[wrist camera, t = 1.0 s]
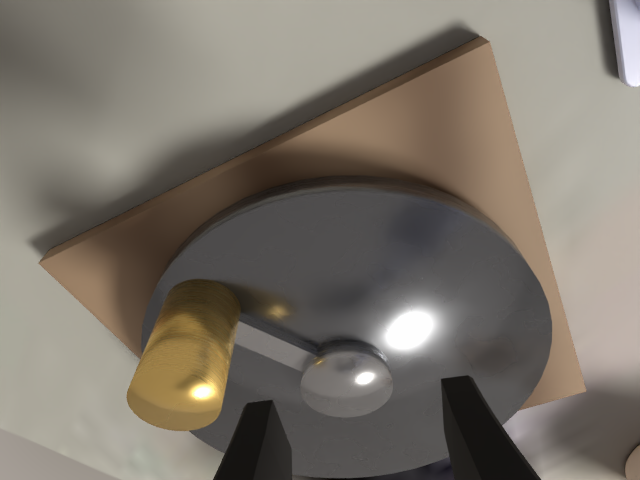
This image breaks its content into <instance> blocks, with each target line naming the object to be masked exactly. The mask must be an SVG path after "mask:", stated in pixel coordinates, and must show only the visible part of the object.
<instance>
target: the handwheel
mask: <svg viewBox="0 0 640 480" xmlns="http://www.w3.org/2000/svg"><path fill="white" fill-rule="evenodd" d="M551 344H552V319H551V313H550V308H549V303H548V300H547V298H546V296H545V293H544V291H543V288H542V286H541V284H540V282H539V280H538V279H537V277H536V276H535V274H534V272H533V271H532V269H531V268H530V266H529V264H528V263H527V261H526V260H525V258H524V257H523V255H522V254H521V252H520V251H519V249H518V248H517V246H516V245H515V243H514V242H513V241H512V240H511V238H510V237H509V236H508V235H507V234H506V233H505V232H504V231H503V230H502V229H501V228H500V227H499V226H498V225H497V224H496V223H495V222H493V221H492V220H491V219H489V218H488V217H487V216H485V215H484V214H483V213H481V212H480V211H479V210H477V209H476V208H474V207H472V206H470V205H468V204H467V203H465V202H463V201H461V200H459V199H457V198H456V197H454V196H452V195H449V194H446V193H444V192H441V191H438V190H436V189H433V188H430V187H428V186H425V185H420V184H416V183H412V182H408V181H404V180H399V179H394V178H385V177H376V176H367V175H342V176H326V177H318V178H310V179H303V180H298V181H294V182H290V183H286V184H282V185H278V186H274V187H271V188H268V189H266V190H263V191H260V192H258V193H255V194H253V195H250V196H248V197H245V198H243V199H241V200H239V201H237V202H236V203H234V204H232V205H230V206H228V207H226V208H225V209H223V210H221V211H219V212H218V213H216V214H215V215H214V216H212V217H211V218H210V219H208V220H207V221H206V222H204V223H203V224H202V225H200V226H199V227H198V228H197V229H196V230H195V231H194V232H193V233H192V234H191V235H190V236H189V237H188V238H187V239H186V240H185V241H184V242H183V243H182V244H181V245H180V246H179V247H178V249H177V250H176V252H175V253H174V254H173V256H172V257H171V259H170V260H169V262H168V263H167V265H166V267H165V269H164V271H163V273H162V275H161V277H160V279H159V282H158V284H157V286H156V288H155V290H154V293H153V295H152V297H151V299H150V301H149V304H148V306H147V309H146V313H145V317H144V321H143V324H142V336H141V350H142V357H141V360H140V362H139V364H138V367H137V369H136V372H135V374H134V377H133V379H132V381H131V384H130V386H129V389H128V392H127V402H128V405H129V407H130V408H131V410H132V411H133V412H134V413H135V414H136V415H137V416H138V417H139V418H141V419H142V420H144V421H145V422H147V423H149V424H151V425H154V426H156V427H159V428H163V429H167V430H174V431H190V432H191V433H192V434H193V435H195V436H196V437H197V438H199V439H200V440H202V441H204V442H205V443H207V444H208V445H210V446H212V447H213V448H215V449H217V450H219V451H221V452H223V453H225V452H226V450H227V448H228V446H229V443H230V441H231V439H232V436H233V434H234V431H235V429H236V426H237V424H238V421H239V419H240V416H241V414H242V411H243V409H244V406H245V405H246V404H247V403H250V402H258V401H266V400H273V402H274V405H275V407H276V410H277V412H278V415H279V418H280V420H281V423H282V425H283V428H284V431H285V433H286V436H287V438H288V441H289V443H290V446H291V449H292V474H294V475H301V476H308V477H322V478H357V477H370V476H378V475H385V474H391V473H397V472H401V471H405V470H410V469H414V468H418V467H421V466H424V465H427V464H431V463H434V462H437V461H439V460H442V459H444V458H447V457H449V452H448V448H447V443H446V439H445V434H444V424H443V407H442V391H441V379H442V378H450V377H458V376H466V375H469V376H470V377H472V378H473V379H474V381H475V383H476V385H477V387H478V388H479V390H480V392H481V393H482V395H483V397H484V399H485V400H486V402H487V404H488V405H489V407H490V408H491V410H492V411H493V413H494V415H495V416H496V418H497V419H498V421H499V422H500V424H501V425H503V424H504V423H506V422H507V421H508V420H509V419H510V418H511V417H512V416H513V415H514V414H515V413H516V412H517V411H518V410H519V409H520V408H521V407H522V405H523V404H524V403H525V402H526V400H527V399H528V398H529V397H530V395H531V394H532V393H533V391H534V389H535V387H536V386H537V384H538V382H539V381H540V379H541V377H542V375H543V372H544V370H545V367H546V365H547V362H548V359H549V354H550V349H551Z"/></svg>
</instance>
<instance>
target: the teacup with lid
mask: <svg viewBox="0 0 640 480" xmlns="http://www.w3.org/2000/svg"><path fill="white" fill-rule="evenodd" d="M625 474H626V477H627V480H640V445H639V446H637V447H636V448H635V450H634V451H633V452H632V453H631V454H630V456H629V458H628V460H627V462H626V466H625Z"/></svg>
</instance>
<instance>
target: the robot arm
mask: <svg viewBox="0 0 640 480" xmlns="http://www.w3.org/2000/svg"><path fill="white" fill-rule="evenodd" d="M609 5H610V12H611V20H612V27H613V35H614V42H615V49H616V57H617V64H618V72H619V78H620V80H621V82H622V83H624V84H625V85H627V86H629V87H637V86H640V0H609ZM441 391H442V407H443V424H444V434H445V439H446V443H447V448H448V452H449V457H450V461H451V465H452V470H453V474H454V478H455V480H541V479H540V478H539V476H538V475H537V474H536V472H535V471H534V470H533V468H532V467H531V466H530V464H529V463H528V462H527V460H526V459H525V457H524V456H523V455H522V453H521V452H520V451H519V449H518V448H517V447H516V445H515V444H514V443H513V441H512V440H511V438H510V437H509V435H508V434H507V433H506V431H505V430H504V428H503V427H502V425H501V424H500V422H499V421H498V419H497V418H496V416H495V415H494V413H493V411H492V410H491V408H490V407H489V405H488V404H487V402H486V400H485V399H484V397H483V395H482V393H481V392H480V390H479V388H478V387H477V385H476V383H475V381H474V379H473V378H472V377H470V376H469V375H466V376H458V377H450V378H442V379H441ZM213 480H292V449H291V446H290V443H289V441H288V438H287V436H286V433H285V431H284V428H283V425H282V423H281V420H280V418H279V415H278V412H277V410H276V407H275V405H274V402H273V400H266V401H258V402H250V403H247V404H246V405H245V406H244V409H243V411H242V414H241V416H240V419H239V421H238V424H237V426H236V429H235V431H234V434H233V436H232V439H231V441H230V443H229V446H228V448H227V450H226V452H225V455H224V457H223V459H222V462H221V464H220V466H219V468H218V470H217V472H216V474H215V477H214V479H213Z"/></svg>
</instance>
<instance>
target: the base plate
mask: <svg viewBox="0 0 640 480" xmlns="http://www.w3.org/2000/svg"><path fill="white" fill-rule="evenodd" d="M342 175H367V176H376V177H385V178H394V179H399V180H404V181H408V182H412V183H416V184H420V185H425V186H428V187H430V188H433V189H436V190H438V191H441V192H444V193H446V194H449V195H452V196H454V197H456V198H457V199H459V200H461V201H463V202H465V203H467V204H468V205H470V206H472V207H474V208H476V209H477V210H479V211H480V212H481V213H483V214H484V215H485V216H487V217H488V218H489V219H491V220H492V221H493V222H495V223H496V224H497V225H498V226H499V227H500V228H501V229H502V230H503V231H504V232H505V233H506V234H507V235H508V236H509V237H510V238H511V240H512V241H513V242H514V243H515V245H516V246H517V248H518V249H519V251H520V252H521V254H522V255H523V257H524V258H525V260H526V261H527V263H528V264H529V266H530V268H531V269H532V271H533V272H534V274H535V276H536V277H537V279H538V280H539V282H540V284H541V286H542V288H543V291H544V293H545V296H546V298H547V300H548V303H549V308H550V313H551V319H552V344H551V349H550V354H549V359H548V362H547V365H546V367H545V370H544V372H543V375H542V377H541V379H540V381H539V382H538V384H537V386H536V387H535V389H534V391H533V393H532V394H531V395H530V397H529V398H528V399H527V400H526V402H525V403H524V404H523V405H522V407H521V408H520V409H519V410H522V409H526V408H529V407H533V406H536V405H540V404H544V403H547V402H551V401H554V400H558V399H561V398H565V397H568V396H572V395H575V394H579V393H583V392H586V388H585V384H584V381H583V377H582V373H581V370H580V366H579V363H578V359H577V355H576V352H575V348H574V344H573V341H572V337H571V334H570V330H569V326H568V323H567V319H566V316H565V312H564V308H563V305H562V301H561V297H560V294H559V290H558V287H557V283H556V279H555V276H554V272H553V269H552V265H551V261H550V258H549V254H548V250H547V247H546V243H545V240H544V236H543V232H542V229H541V225H540V222H539V218H538V214H537V211H536V207H535V203H534V200H533V196H532V193H531V189H530V185H529V182H528V178H527V175H526V171H525V167H524V164H523V160H522V156H521V153H520V149H519V146H518V142H517V138H516V135H515V131H514V128H513V124H512V120H511V117H510V113H509V110H508V106H507V102H506V99H505V95H504V91H503V88H502V84H501V81H500V77H499V73H498V70H497V66H496V63H495V59H494V55H493V52H492V48H491V44H490V42H489V41H488V40H486V39H485V38H483V37H482V36H480V37H478V38H476V39H474V40H472V41H470V42H468V43H466V44H464V45H462V46H460V47H457V48H455V49H453V50H451V51H449V52H447V53H445V54H443V55H441V56H439V57H437V58H435V59H433V60H431V61H429V62H427V63H425V64H423V65H421V66H419V67H417V68H415V69H413V70H411V71H409V72H407V73H405V74H403V75H401V76H399V77H397V78H395V79H393V80H391V81H389V82H387V83H385V84H383V85H381V86H379V87H377V88H375V89H373V90H371V91H369V92H367V93H365V94H363V95H361V96H359V97H357V98H355V99H353V100H351V101H349V102H347V103H345V104H343V105H341V106H339V107H336V108H334V109H332V110H330V111H328V112H326V113H324V114H322V115H320V116H318V117H316V118H314V119H312V120H310V121H308V122H306V123H304V124H302V125H300V126H298V127H296V128H294V129H292V130H290V131H288V132H286V133H284V134H282V135H280V136H278V137H276V138H274V139H272V140H270V141H268V142H266V143H264V144H262V145H260V146H258V147H256V148H254V149H252V150H250V151H248V152H246V153H244V154H242V155H240V156H238V157H236V158H234V159H232V160H230V161H228V162H226V163H224V164H222V165H220V166H218V167H216V168H213V169H211V170H209V171H207V172H205V173H203V174H201V175H199V176H197V177H195V178H193V179H191V180H189V181H187V182H185V183H183V184H181V185H179V186H177V187H175V188H173V189H171V190H169V191H167V192H165V193H163V194H161V195H159V196H157V197H155V198H153V199H151V200H149V201H147V202H145V203H143V204H141V205H139V206H137V207H135V208H133V209H131V210H129V211H127V212H125V213H123V214H121V215H119V216H117V217H115V218H113V219H111V220H109V221H107V222H105V223H103V224H101V225H99V226H97V227H95V228H92V229H90V230H88V231H86V232H84V233H82V234H80V235H78V236H76V237H74V238H72V239H70V240H68V241H66V242H64V243H62V244H60V245H58V246H56V247H54V248H52V249H50V250H49V251H48V252H47V253H46V255H45V256H44V257H43V258H42V259H41V260H40V262H39V264H40V265H41V266H42V267H43V268H44V269H45V270H46V271H47V272H48V273H49V274H50V275H51V276H53V277H54V278H55V279H56V280H57V281H58V282H59V283H60V284H61V285H62V286H63V287H64V288H65V289H66V290H67V291H69V292H70V293H71V294H72V295H73V296H74V297H75V298H76V299H77V300H78V301H79V302H80V303H81V304H82V305H83V306H84V307H86V308H87V309H88V310H89V311H90V312H91V313H92V314H93V315H94V316H95V317H96V318H97V319H98V320H99V321H100V322H101V323H103V324H104V325H105V326H106V327H107V328H108V329H109V330H110V331H111V332H112V333H113V334H114V335H115V336H116V337H117V338H118V339H120V340H121V341H122V342H123V343H124V344H125V345H126V346H127V347H128V348H129V349H130V350H131V351H132V352H133V353H134V354H136V355H137V356H138V357H139V358H140V359H141V357H142V350H141V336H142V324H143V321H144V317H145V313H146V309H147V306H148V304H149V301H150V299H151V297H152V295H153V293H154V290H155V288H156V286H157V284H158V282H159V279H160V277H161V275H162V273H163V271H164V269H165V267H166V265H167V263H168V262H169V260H170V259H171V257H172V256H173V254H174V253H175V252H176V250H177V249H178V247H179V246H180V245H181V244H182V243H183V242H184V241H185V240H186V239H187V238H188V237H189V236H190V235H191V234H192V233H193V232H194V231H195V230H196V229H197V228H198V227H199V226H200V225H202V224H203V223H204V222H206V221H207V220H208V219H210V218H211V217H212V216H214V215H215V214H216V213H218V212H219V211H221V210H223V209H225V208H226V207H228V206H230V205H232V204H234V203H236V202H237V201H239V200H241V199H243V198H245V197H248V196H250V195H253V194H255V193H258V192H260V191H263V190H266V189H268V188H271V187H274V186H278V185H282V184H286V183H290V182H294V181H298V180H303V179H310V178H318V177H326V176H342ZM519 410H518V411H519Z"/></svg>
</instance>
